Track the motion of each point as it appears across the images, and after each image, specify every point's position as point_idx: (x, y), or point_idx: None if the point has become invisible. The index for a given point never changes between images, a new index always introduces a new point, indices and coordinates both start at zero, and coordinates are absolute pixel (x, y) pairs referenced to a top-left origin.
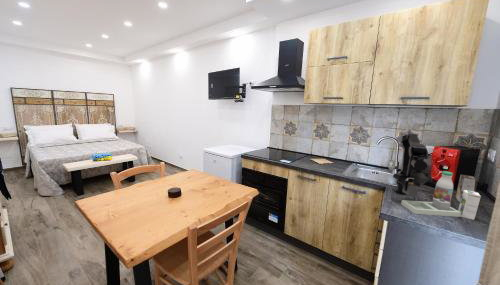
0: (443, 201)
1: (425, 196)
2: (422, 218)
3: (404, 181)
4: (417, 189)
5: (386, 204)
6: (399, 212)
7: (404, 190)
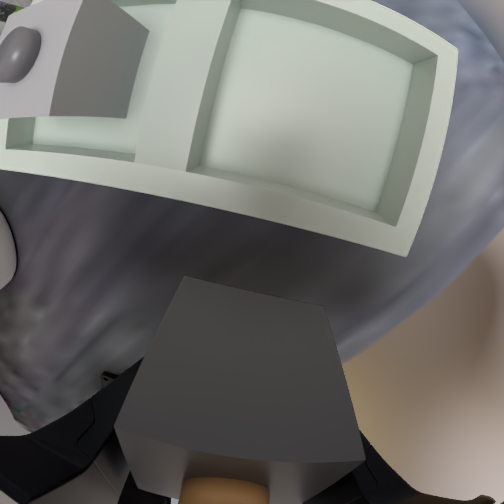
0: (30, 29)
1: (25, 329)
2: (399, 13)
3: (491, 499)
4: (155, 357)
5: (463, 265)
6: (488, 138)
7: None
